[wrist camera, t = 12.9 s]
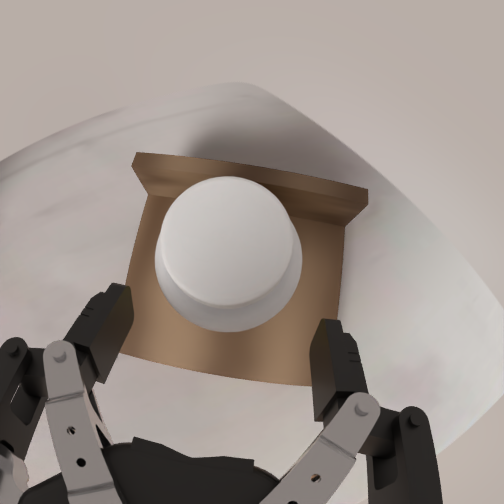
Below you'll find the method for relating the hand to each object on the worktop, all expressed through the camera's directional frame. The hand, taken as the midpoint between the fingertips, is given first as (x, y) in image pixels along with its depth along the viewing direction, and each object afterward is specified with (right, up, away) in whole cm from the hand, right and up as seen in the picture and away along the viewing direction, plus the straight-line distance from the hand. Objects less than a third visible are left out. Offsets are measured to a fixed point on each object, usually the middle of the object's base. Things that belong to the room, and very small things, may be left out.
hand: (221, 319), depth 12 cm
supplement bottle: (0, +1, +7) cm, 7 cm away
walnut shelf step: (0, 0, +10) cm, 10 cm away
